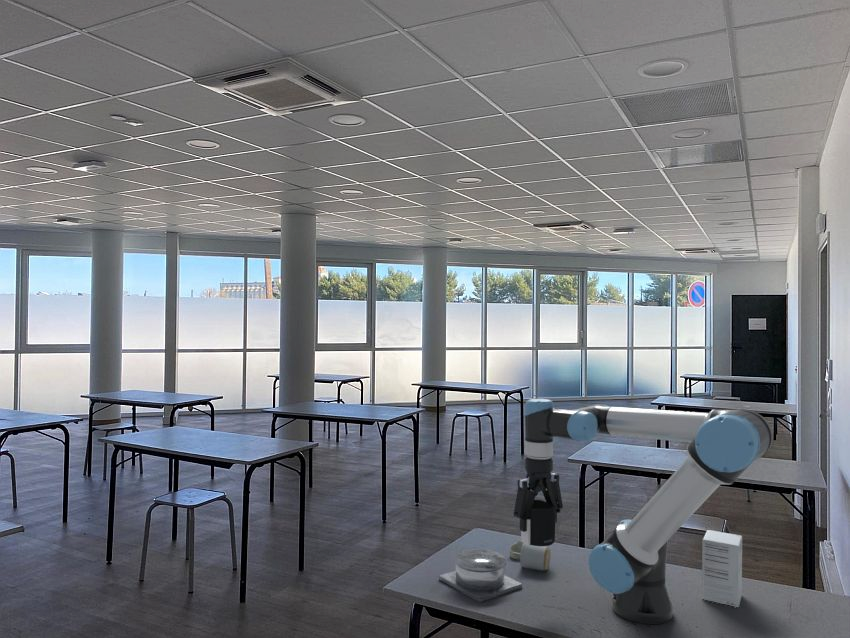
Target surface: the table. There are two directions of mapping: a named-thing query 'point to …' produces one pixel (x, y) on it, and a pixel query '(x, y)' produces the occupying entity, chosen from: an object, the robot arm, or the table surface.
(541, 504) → the pen holder
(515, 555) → the beige oval ring
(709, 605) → the table surface
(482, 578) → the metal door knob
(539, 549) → the ceramic mug
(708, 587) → the supplement box
